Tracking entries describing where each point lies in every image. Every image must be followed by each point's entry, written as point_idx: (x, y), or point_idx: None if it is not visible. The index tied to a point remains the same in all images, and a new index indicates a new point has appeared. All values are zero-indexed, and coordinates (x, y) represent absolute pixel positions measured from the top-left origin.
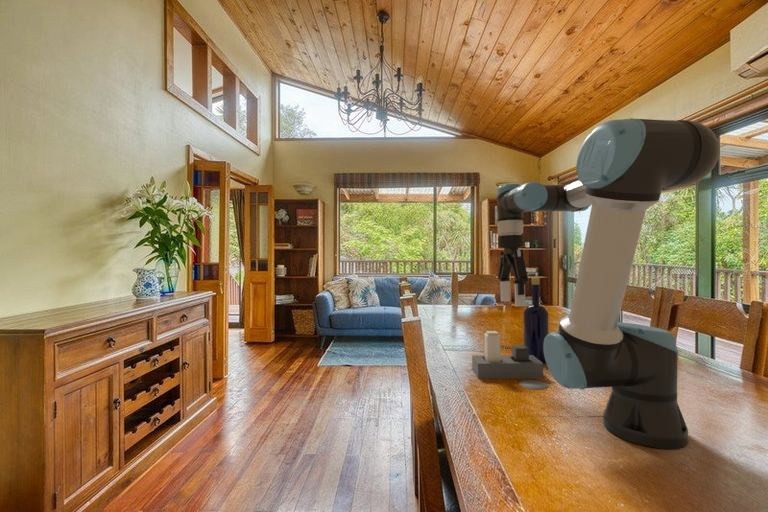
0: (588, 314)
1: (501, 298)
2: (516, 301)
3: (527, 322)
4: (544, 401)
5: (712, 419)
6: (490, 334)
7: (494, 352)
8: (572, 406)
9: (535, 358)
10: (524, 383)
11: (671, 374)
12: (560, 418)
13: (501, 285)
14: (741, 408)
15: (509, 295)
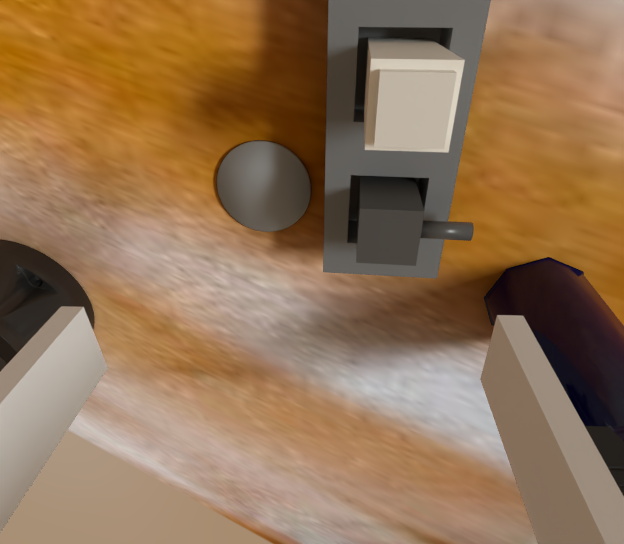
0: None
1: (508, 337)
2: (37, 339)
3: (599, 388)
4: (137, 170)
5: (121, 420)
6: (379, 87)
7: (366, 90)
8: (119, 228)
9: (389, 270)
10: (273, 163)
11: None
12: (28, 164)
13: (576, 485)
14: (181, 477)
15: (499, 426)
